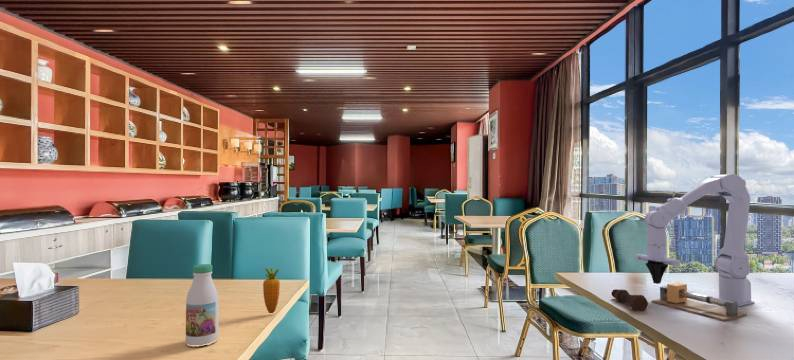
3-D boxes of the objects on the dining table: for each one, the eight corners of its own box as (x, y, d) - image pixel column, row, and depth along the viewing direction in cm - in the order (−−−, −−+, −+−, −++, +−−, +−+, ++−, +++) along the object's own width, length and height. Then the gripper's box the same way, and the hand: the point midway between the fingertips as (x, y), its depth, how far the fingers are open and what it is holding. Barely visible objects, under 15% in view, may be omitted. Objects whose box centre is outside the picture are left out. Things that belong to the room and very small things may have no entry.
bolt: (617, 304, 146) (642, 315, 131) (605, 297, 147) (628, 308, 132) (625, 289, 147) (651, 299, 132) (612, 282, 147) (637, 292, 132)
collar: (667, 301, 140) (667, 284, 140) (677, 298, 142) (677, 282, 142) (676, 303, 137) (676, 286, 137) (687, 301, 139) (686, 284, 139)
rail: (660, 300, 143) (660, 286, 143) (665, 299, 144) (665, 285, 144) (732, 318, 124) (732, 302, 124) (737, 317, 125) (737, 301, 125)
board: (651, 302, 141) (651, 300, 141) (673, 298, 146) (672, 296, 146) (724, 321, 121) (724, 318, 121) (746, 315, 127) (746, 313, 127)
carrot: (283, 313, 130) (283, 266, 131) (272, 318, 126) (272, 269, 126) (270, 311, 132) (270, 265, 133) (259, 316, 128) (259, 268, 128)
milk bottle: (193, 337, 110) (193, 262, 110) (222, 336, 111) (222, 262, 111) (180, 348, 102) (180, 268, 103) (212, 347, 103) (212, 267, 103)
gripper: (629, 242, 151) (630, 280, 150) (670, 248, 138) (671, 288, 137) (642, 241, 154) (642, 278, 153) (683, 246, 141) (683, 286, 140)
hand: (657, 283), depth 146 cm, fingers closed
